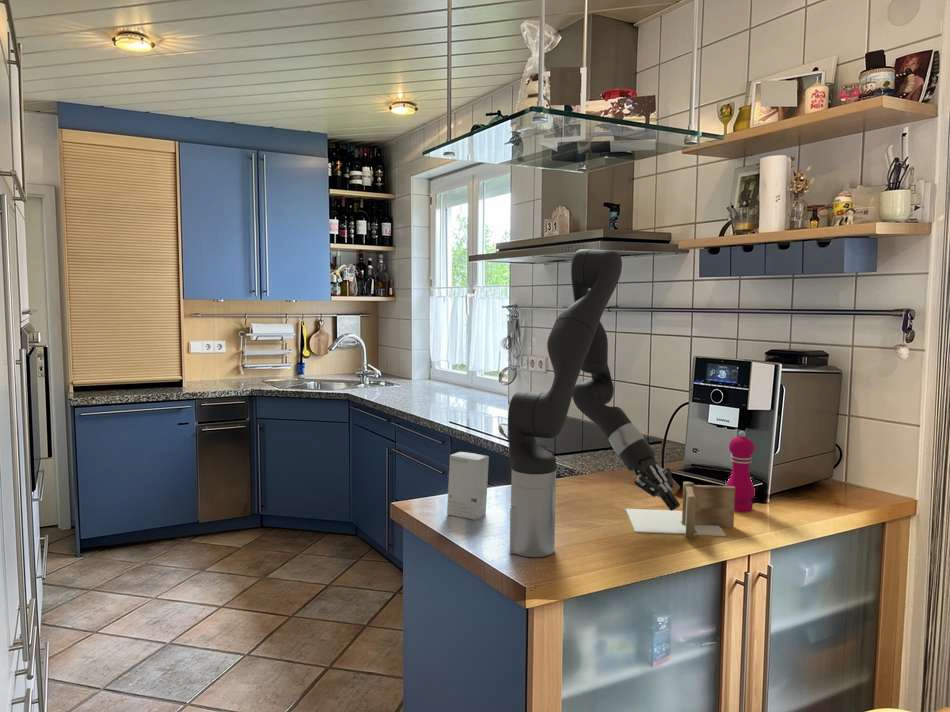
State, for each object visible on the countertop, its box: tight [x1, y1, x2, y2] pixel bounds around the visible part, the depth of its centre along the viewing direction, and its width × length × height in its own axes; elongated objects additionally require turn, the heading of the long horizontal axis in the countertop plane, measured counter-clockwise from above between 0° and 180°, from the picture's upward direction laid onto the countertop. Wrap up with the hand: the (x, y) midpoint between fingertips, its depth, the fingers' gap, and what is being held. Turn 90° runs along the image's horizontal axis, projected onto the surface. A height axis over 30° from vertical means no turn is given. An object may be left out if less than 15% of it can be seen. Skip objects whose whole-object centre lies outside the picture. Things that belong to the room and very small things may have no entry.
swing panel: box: [685, 486, 696, 540], centre depth 152 cm, size 11×2×9 cm, turn 165°
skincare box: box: [446, 451, 490, 521], centre depth 165 cm, size 8×6×15 cm
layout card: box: [625, 508, 727, 537], centre depth 161 cm, size 20×17×1 cm
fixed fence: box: [681, 481, 735, 528], centre depth 158 cm, size 12×2×10 cm, turn 84°
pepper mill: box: [725, 430, 755, 513], centre depth 172 cm, size 7×7×20 cm
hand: (675, 508), depth 155 cm, fingers closed
